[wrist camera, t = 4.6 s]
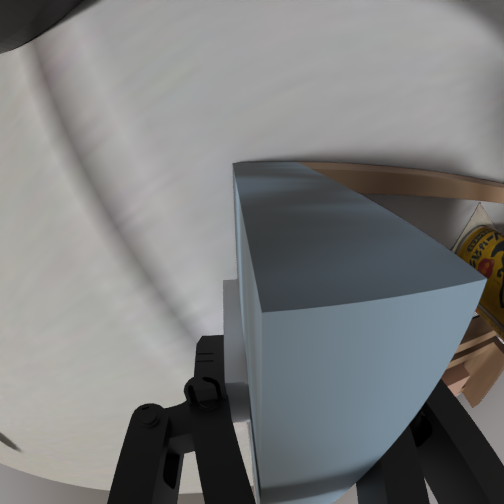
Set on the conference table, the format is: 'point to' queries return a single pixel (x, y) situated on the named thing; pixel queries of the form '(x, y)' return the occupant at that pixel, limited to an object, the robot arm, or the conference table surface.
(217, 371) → the robot arm
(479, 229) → the condiment
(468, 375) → the clay block
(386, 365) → the wooden shelf
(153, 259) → the conference table surface
